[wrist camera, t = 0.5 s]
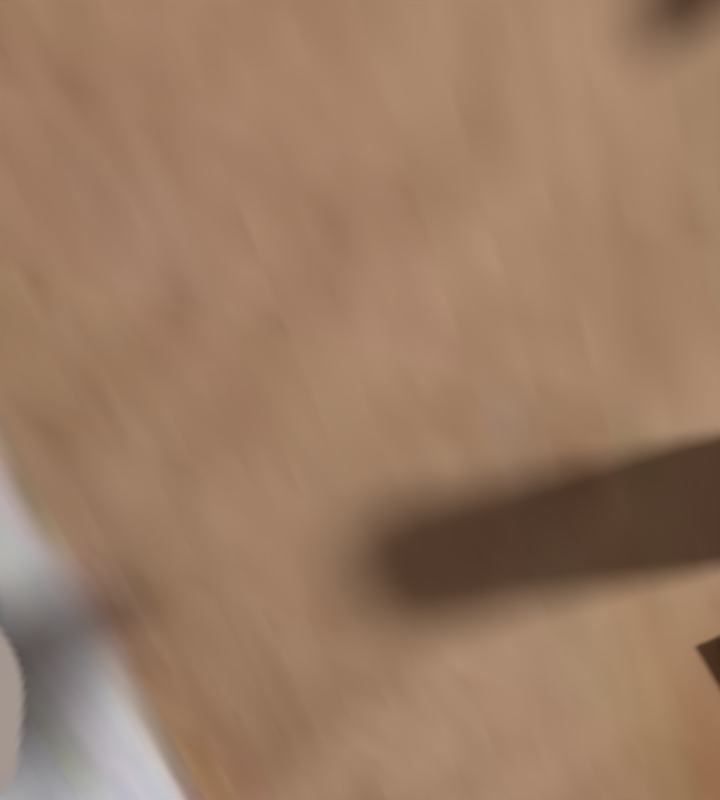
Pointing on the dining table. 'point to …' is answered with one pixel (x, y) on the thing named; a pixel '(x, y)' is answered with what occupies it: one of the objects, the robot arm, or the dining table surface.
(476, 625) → the dining table surface
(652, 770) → the dining table surface
